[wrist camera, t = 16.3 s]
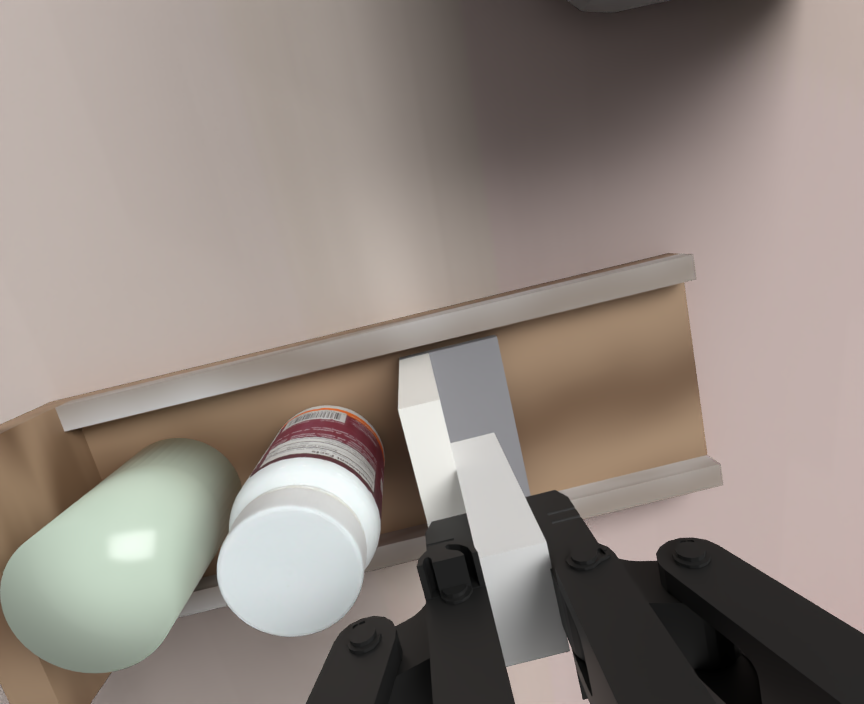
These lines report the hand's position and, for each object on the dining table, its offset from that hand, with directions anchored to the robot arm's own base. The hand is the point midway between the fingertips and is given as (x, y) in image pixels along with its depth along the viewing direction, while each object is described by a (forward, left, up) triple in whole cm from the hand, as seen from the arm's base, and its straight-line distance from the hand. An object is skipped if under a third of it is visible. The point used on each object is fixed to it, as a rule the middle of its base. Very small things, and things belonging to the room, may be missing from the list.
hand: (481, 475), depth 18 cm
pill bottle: (0, -6, -6) cm, 8 cm away
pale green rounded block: (0, -12, -5) cm, 13 cm away
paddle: (0, 0, -5) cm, 5 cm away
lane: (0, -3, -6) cm, 7 cm away
